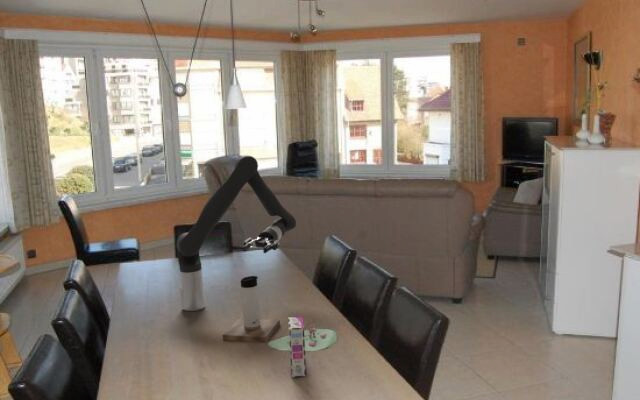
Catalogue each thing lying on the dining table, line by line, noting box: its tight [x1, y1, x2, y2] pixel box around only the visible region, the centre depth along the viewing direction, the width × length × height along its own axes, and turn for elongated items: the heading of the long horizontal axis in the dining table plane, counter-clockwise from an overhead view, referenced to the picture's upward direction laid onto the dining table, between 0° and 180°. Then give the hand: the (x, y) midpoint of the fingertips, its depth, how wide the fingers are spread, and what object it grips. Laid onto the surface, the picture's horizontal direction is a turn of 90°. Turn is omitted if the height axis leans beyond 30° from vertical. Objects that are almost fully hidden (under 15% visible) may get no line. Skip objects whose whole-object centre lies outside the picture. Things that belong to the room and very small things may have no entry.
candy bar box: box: [287, 315, 307, 379], centre depth 191 cm, size 11×5×16 cm, turn 5°
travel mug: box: [240, 275, 261, 330], centre depth 225 cm, size 6×7×20 cm
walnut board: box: [222, 318, 281, 343], centre depth 226 cm, size 17×17×2 cm
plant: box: [267, 317, 338, 352], centre depth 215 cm, size 25×21×9 cm
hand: (254, 250), depth 236 cm, fingers open, 8 cm apart
